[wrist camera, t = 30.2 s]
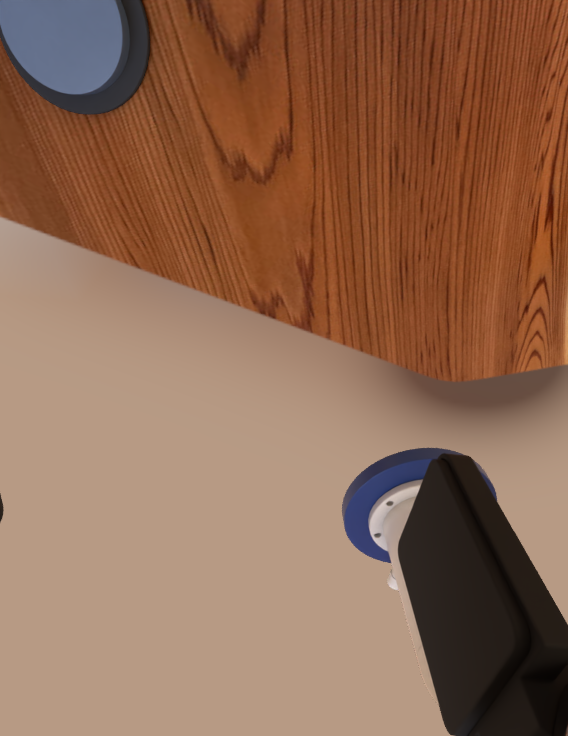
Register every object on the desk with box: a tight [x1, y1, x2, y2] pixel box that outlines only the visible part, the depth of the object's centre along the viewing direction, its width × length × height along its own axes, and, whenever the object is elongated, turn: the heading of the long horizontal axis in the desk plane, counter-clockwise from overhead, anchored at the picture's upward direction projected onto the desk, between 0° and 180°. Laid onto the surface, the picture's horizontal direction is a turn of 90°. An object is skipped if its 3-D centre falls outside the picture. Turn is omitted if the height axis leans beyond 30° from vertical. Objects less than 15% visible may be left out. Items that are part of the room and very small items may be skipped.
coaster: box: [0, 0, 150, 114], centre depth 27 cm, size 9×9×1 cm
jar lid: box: [0, 0, 130, 95], centre depth 26 cm, size 7×7×2 cm
